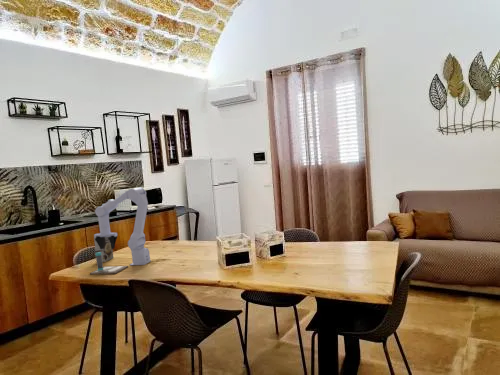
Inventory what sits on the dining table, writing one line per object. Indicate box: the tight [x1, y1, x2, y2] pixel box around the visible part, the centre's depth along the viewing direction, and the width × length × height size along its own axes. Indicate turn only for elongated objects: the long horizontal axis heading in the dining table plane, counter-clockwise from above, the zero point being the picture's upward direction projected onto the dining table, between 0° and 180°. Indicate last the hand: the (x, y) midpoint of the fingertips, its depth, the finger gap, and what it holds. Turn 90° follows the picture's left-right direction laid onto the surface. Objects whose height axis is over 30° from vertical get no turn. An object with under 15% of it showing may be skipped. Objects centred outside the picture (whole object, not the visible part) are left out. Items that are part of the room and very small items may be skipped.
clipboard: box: [89, 265, 129, 275], centre depth 207 cm, size 16×12×2 cm
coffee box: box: [93, 237, 114, 263], centre depth 233 cm, size 9×6×16 cm
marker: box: [94, 252, 104, 271], centre depth 205 cm, size 3×3×10 cm
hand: (107, 248), depth 221 cm, fingers open, 7 cm apart
